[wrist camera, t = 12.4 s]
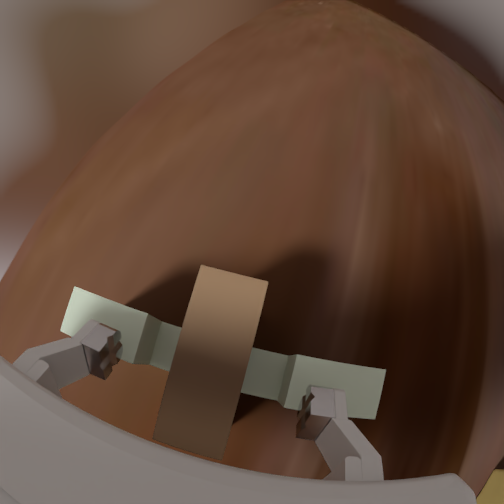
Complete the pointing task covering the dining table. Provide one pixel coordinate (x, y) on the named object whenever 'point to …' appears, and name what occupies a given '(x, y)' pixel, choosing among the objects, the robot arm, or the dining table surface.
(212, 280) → the cross-piece
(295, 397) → the slotted board
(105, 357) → the robot arm
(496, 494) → the cheese
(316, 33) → the dining table surface
